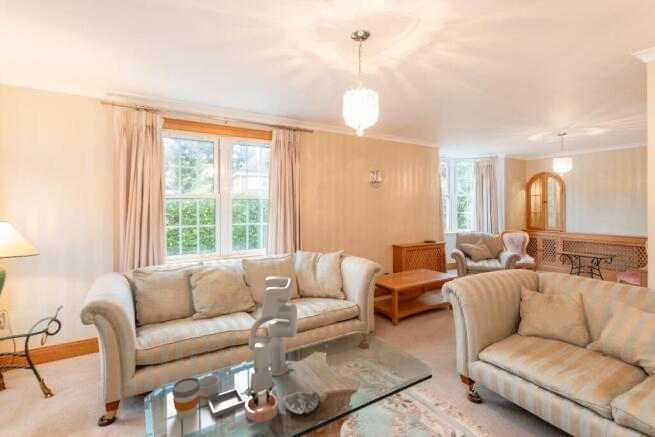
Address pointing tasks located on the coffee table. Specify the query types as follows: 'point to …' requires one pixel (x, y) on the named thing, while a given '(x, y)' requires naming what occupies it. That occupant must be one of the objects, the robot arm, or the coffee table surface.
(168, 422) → the coffee table surface
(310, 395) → the brain slice
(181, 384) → the reusable coffee cup
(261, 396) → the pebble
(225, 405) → the tray
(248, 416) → the bowl
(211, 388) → the teacup
